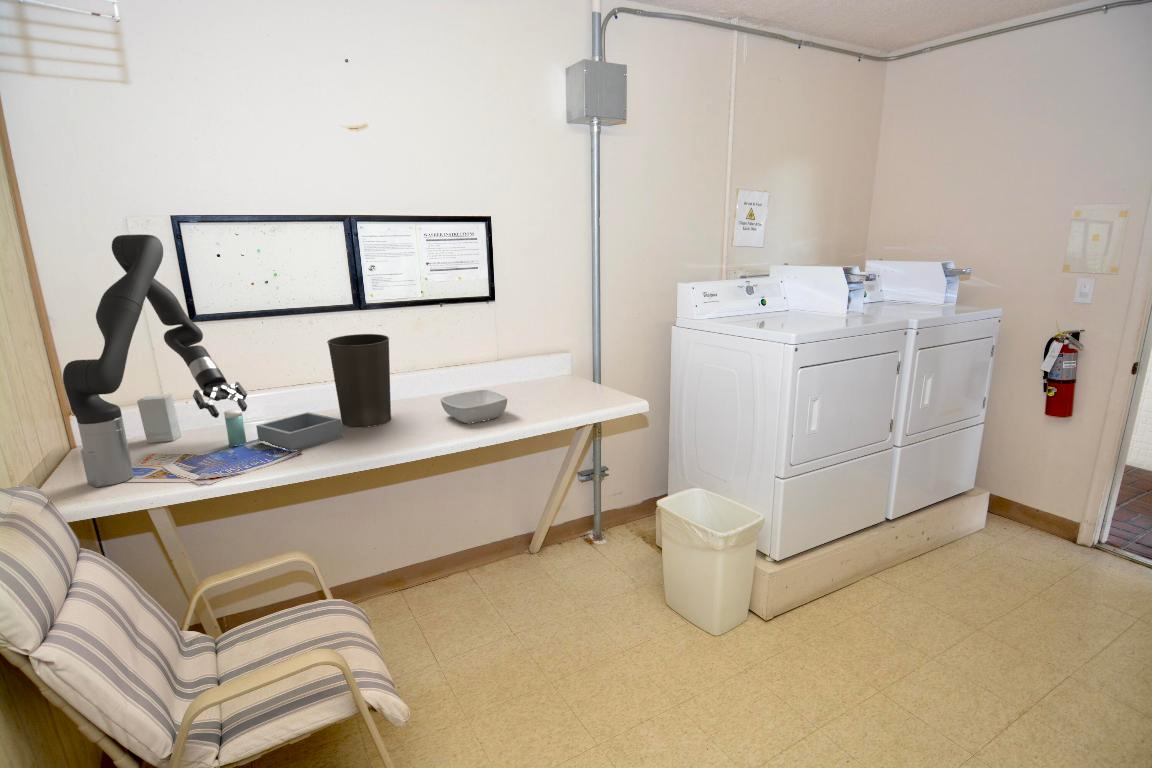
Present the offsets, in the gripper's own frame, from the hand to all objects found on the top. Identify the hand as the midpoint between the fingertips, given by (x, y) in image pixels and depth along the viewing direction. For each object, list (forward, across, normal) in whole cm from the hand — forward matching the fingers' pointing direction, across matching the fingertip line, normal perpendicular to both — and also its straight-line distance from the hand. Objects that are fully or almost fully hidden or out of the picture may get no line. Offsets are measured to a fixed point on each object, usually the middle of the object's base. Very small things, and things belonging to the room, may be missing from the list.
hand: (231, 413), depth 184 cm
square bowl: (+41, +61, -26) cm, 78 cm away
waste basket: (+19, +38, -4) cm, 43 cm away
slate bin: (+18, +13, -3) cm, 22 cm away
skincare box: (-11, -10, +26) cm, 30 cm away
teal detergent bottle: (+8, 0, +6) cm, 10 cm away
